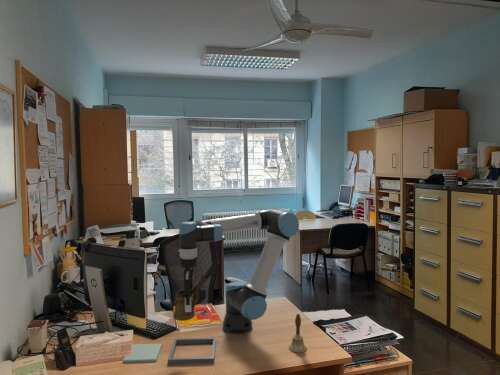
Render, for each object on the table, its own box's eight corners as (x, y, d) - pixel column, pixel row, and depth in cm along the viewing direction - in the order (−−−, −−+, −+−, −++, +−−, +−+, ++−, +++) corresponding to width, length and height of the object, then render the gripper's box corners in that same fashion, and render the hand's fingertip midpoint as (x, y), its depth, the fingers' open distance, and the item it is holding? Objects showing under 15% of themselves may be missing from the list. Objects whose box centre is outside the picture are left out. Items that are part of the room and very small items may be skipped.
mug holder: (216, 341, 184) (215, 337, 184) (214, 362, 165) (213, 358, 164) (174, 342, 183) (174, 338, 183) (167, 364, 164) (167, 359, 164)
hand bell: (308, 345, 179) (308, 311, 178) (304, 354, 172) (305, 318, 170) (290, 343, 182) (290, 309, 181) (286, 351, 174) (286, 316, 173)
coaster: (162, 345, 180) (162, 343, 180) (156, 361, 166) (156, 359, 166) (131, 346, 180) (131, 344, 179) (123, 362, 166) (122, 360, 166)
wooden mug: (205, 318, 170) (205, 278, 169) (174, 321, 167) (173, 280, 166) (203, 311, 178) (203, 272, 177) (173, 313, 175) (172, 274, 174)
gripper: (182, 252, 180) (183, 300, 182) (176, 263, 161) (177, 317, 162) (198, 251, 181) (199, 300, 182) (195, 263, 161) (195, 317, 162)
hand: (189, 308), depth 172 cm, fingers closed on wooden mug, 7 cm apart
